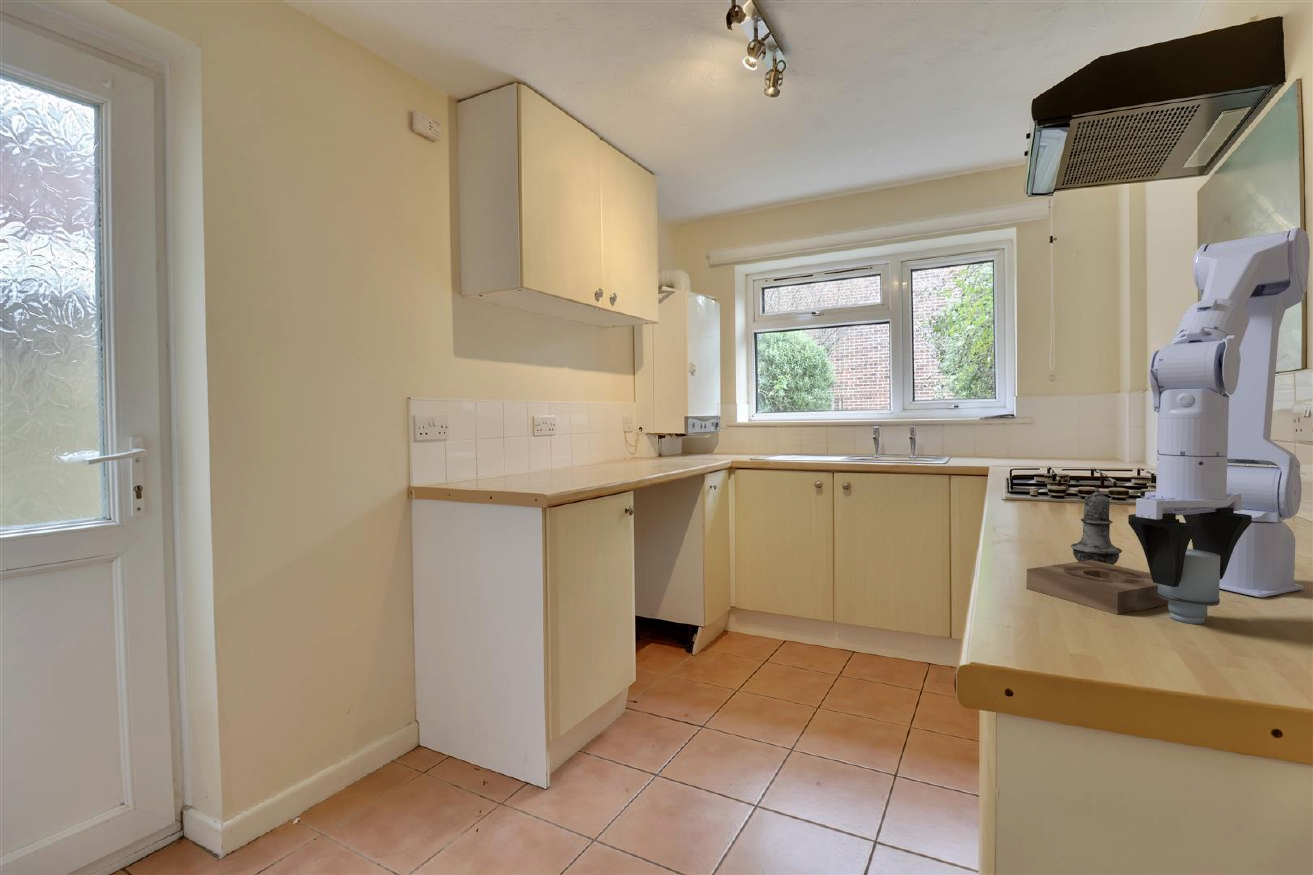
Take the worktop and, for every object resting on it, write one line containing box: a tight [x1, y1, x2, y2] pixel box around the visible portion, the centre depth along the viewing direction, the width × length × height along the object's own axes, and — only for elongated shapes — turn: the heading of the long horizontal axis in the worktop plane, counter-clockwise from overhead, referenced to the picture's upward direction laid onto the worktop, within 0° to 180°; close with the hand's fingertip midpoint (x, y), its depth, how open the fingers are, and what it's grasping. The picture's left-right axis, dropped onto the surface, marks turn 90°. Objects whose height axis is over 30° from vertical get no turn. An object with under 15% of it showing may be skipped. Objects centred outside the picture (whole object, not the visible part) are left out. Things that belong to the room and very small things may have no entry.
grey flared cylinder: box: [1070, 487, 1123, 565], centre depth 85 cm, size 6×6×12 cm
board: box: [1026, 560, 1168, 615], centre depth 76 cm, size 12×11×2 cm
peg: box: [1157, 548, 1221, 625], centre depth 66 cm, size 5×5×7 cm
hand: (1187, 580), depth 66 cm, fingers open, 7 cm apart
